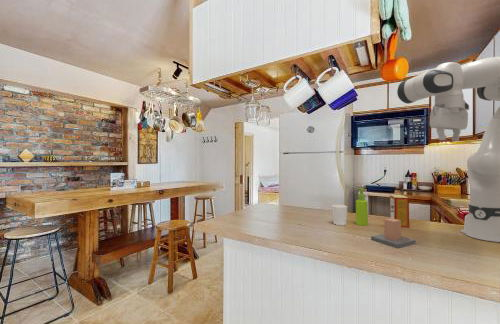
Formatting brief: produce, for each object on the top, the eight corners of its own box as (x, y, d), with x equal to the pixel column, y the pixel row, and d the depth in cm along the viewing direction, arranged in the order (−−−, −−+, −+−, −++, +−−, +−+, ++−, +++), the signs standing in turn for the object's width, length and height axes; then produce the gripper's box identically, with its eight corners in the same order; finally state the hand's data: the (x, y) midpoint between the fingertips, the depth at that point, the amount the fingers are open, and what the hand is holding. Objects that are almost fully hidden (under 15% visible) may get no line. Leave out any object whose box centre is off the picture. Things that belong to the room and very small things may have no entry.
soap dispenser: (363, 222, 138) (363, 187, 138) (369, 225, 131) (369, 188, 131) (353, 222, 138) (352, 187, 137) (359, 225, 131) (358, 188, 131)
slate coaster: (388, 235, 114) (388, 232, 114) (415, 243, 103) (415, 239, 103) (371, 239, 108) (371, 236, 108) (397, 248, 98) (397, 244, 98)
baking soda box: (390, 222, 137) (389, 194, 137) (403, 223, 135) (403, 194, 135) (394, 227, 128) (394, 196, 128) (409, 227, 126) (408, 197, 126)
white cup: (350, 224, 134) (350, 206, 134) (340, 226, 130) (340, 208, 130) (338, 221, 141) (338, 204, 141) (329, 223, 137) (329, 205, 137)
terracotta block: (391, 235, 108) (390, 218, 108) (401, 238, 104) (400, 220, 104) (384, 237, 106) (384, 219, 106) (394, 240, 102) (394, 221, 102)
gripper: (443, 101, 88) (443, 139, 88) (471, 105, 97) (471, 140, 97) (424, 104, 94) (424, 140, 94) (452, 109, 103) (453, 141, 103)
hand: (448, 140), depth 96 cm, fingers open, 8 cm apart
